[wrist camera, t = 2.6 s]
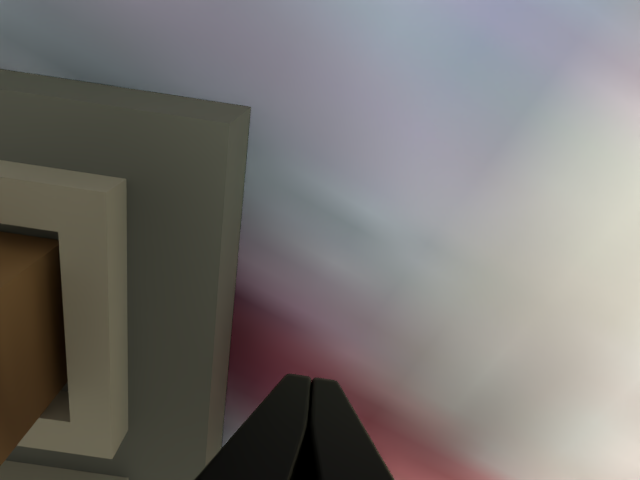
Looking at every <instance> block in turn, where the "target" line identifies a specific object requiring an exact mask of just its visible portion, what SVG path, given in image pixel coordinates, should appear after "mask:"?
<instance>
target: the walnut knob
mask: <svg viewBox="0 0 640 480" xmlns="http://www.w3.org/2000/svg"><path fill="white" fill-rule="evenodd" d="M67 382H68V378H67V362H66V346H65V331H64V315H63V299H62V283H61V268H60V252H59V240H55V239H48V238H41V237H34V236H27V235H21V234H14V233H7V232H0V466H1V465H2V464H3V462H4V461H5V460H6V458H7V457H8V456H9V455H10V453H11V452H12V451H13V450H14V448H15V447H16V446H17V445H18V443H19V442H20V441H21V440H22V438H23V437H24V436H25V435H26V433H27V432H28V431H29V430H30V428H31V427H32V426H33V425H34V423H35V422H36V421H37V420H38V418H39V417H40V416H41V414H42V413H43V412H44V411H45V409H46V408H47V407H48V406H49V404H50V403H51V402H52V401H53V399H54V398H55V397H56V396H57V394H58V393H59V392H60V391H61V389H62V388H63V387H64V386H65V384H66V383H67Z"/></svg>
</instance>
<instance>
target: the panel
mask: <svg viewBox="0 0 640 480" xmlns="http://www.w3.org/2000/svg"><path fill="white" fill-rule="evenodd" d="M250 111H251V107H248V106H241V105H235V104H228V103H222V102H215V101H208V100H202V99H195V98H188V97H182V96H175V95H169V94H162V93H155V92H149V91H142V90H136V89H129V88H122V87H116V86H109V85H103V84H96V83H89V82H83V81H76V80H70V79H63V78H56V77H50V76H43V75H37V74H30V73H23V72H17V71H10V70H4V69H0V232H7V233H14V234H21V235H27V236H34V237H41V238H48V239H55V240H59V252H60V268H61V283H62V299H63V315H64V331H65V346H66V362H67V378H68V382H67V383H66V384H65V386H64V387H63V388H62V389H61V391H60V392H59V393H58V394H57V396H56V397H55V398H54V399H53V401H52V402H51V403H50V404H49V406H48V407H47V408H46V409H45V411H44V412H43V413H42V414H41V416H40V417H39V418H38V420H37V421H36V422H35V423H34V425H33V426H32V427H31V428H30V430H29V431H28V432H27V433H26V435H25V436H24V437H23V438H22V440H21V441H20V442H19V443H18V445H17V446H16V447H15V448H14V450H13V451H12V452H11V453H10V455H9V456H8V457H7V458H6V460H5V461H4V462H3V464H2V465H1V466H0V480H194V479H195V478H196V477H197V476H198V475H199V474H200V472H201V471H202V470H203V469H204V468H205V467H206V466H207V464H208V463H209V462H210V461H211V460H212V459H213V458H214V456H215V455H216V454H217V453H218V452H219V451H220V450H221V447H222V435H223V424H224V412H225V401H226V389H227V377H228V366H229V354H230V343H231V331H232V320H233V308H234V296H235V285H236V273H237V262H238V250H239V239H240V227H241V215H242V204H243V192H244V181H245V169H246V158H247V146H248V134H249V123H250Z"/></svg>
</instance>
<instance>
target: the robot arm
mask: <svg viewBox="0 0 640 480" xmlns="http://www.w3.org/2000/svg"><path fill="white" fill-rule="evenodd" d="M194 480H394V478H393V476H392V475H391V473H390V471H389V470H388V468H387V466H386V464H385V463H384V461H383V459H382V457H381V456H380V454H379V452H378V451H377V449H376V447H375V445H374V444H373V442H372V440H371V438H370V437H369V435H368V433H367V432H366V430H365V428H364V426H363V425H362V423H361V421H360V419H359V418H358V416H357V414H356V412H355V411H354V409H353V407H352V406H351V404H350V402H349V400H348V399H347V397H346V395H345V393H344V392H343V390H342V388H341V387H340V385H339V383H338V382H337V381H335V380H330V379H323V378H313V380H312V382H311V378H310V377H308V376H303V375H296V374H287V375H286V376H285V377H284V378H283V379H282V380H281V381H280V382H279V383H278V384H277V386H276V387H275V388H274V389H273V390H272V391H271V392H270V394H269V395H268V396H267V397H266V398H265V399H264V400H263V402H262V403H261V404H260V405H259V406H258V407H257V408H256V410H255V411H254V412H253V413H252V414H251V415H250V416H249V418H248V419H247V420H246V421H245V422H244V423H243V424H242V426H241V427H240V428H239V429H238V430H237V431H236V432H235V434H234V435H233V436H232V437H231V438H230V439H229V440H228V442H227V443H226V444H225V445H224V446H223V447H222V448H221V450H220V451H219V452H218V453H217V454H216V455H215V456H214V458H213V459H212V460H211V461H210V462H209V463H208V464H207V466H206V467H205V468H204V469H203V470H202V471H201V472H200V474H199V475H198V476H197V477H196V478H195V479H194Z"/></svg>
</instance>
